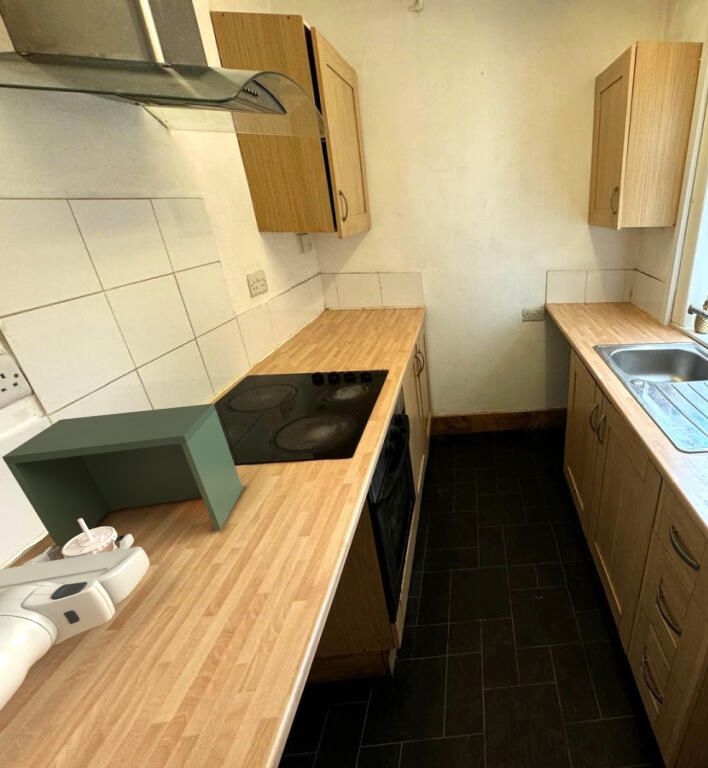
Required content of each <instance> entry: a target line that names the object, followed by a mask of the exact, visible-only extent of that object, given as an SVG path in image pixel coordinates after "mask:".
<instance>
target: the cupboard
mask: <svg viewBox="0 0 708 768" xmlns="http://www.w3.org/2000/svg"><path fill="white" fill-rule="evenodd" d="M1 458H2V459H3V461H4V463H5V464H6V466H7V468H8V469H9V471H10V473H11V474H12V476H13V478H14V479H15V481H16V482H17V484H18V486H19V487H20V489H21V491H22V493H23V494H24V496H25V497H26V498H27V501H28V502H29V504H30V505H31V506H32V508H33V511H34V512H35V513H36V515H37V517H38V519H39V521H40V522H41V523H42V525H43V526H44V528H45V529H46V531H47V533H48V535H49V536H50V538H51V539H52V542H53V543H54V544H55V546H58V545H62V546H63V547H64V545H65V544H66V543H67V542H69V541H70V540H71V539H72V538H74V537H76V536H77V535H79V534H81V533H83V532H84V531H83V529H82V528H81V526H80V524H79V522H78V519H80V518H82V519H83V521H84V522H85V524H86V526H87V528H88V530H91V529H94V528H95V527H96V526H97V524H98V523H100V521H101V520H102V519H103V518H105V516H106V515H107V514H108V513H109V512H111V511H117V510H123V509H131V508H137V507H145V506H151V505H158V504H164V503H165V504H166V503H172V502H179V501H185V500H193V499H198V498H199V499H200V498H202V501H203V503H204V506H205V508H206V511H207V514H208V516H209V518H210V521H211V524H212V526H213V528H214V531H219V530H221V529H222V528H223V526H224V525H225V522H226V521H227V519H228V517H229V515H230V514H231V511H232V509H233V508H234V505H235V504H236V502H237V500H238V498H239V497H240V495H241V493H242V491H243V489H244V488H243V485H242V482H241V479H240V477H239V474H238V471H237V468H236V465H235V462H234V460H233V456H232V453H231V450H230V448H229V445H228V441H227V439H226V436H225V433H224V430H223V427H222V424H221V421H220V418H219V416H218V413H217V409H216V407H215V404H214V403H204V404H197V405H196V404H195V405H185V406H176V407H167V408H157V409H150V410H149V409H148V410H138V411H129V412H118V413H110V414H100V415H91V416H81V417H72V418H62V419H59V420H57V421H55V422H54V423H52V424H51V425H50V426H47V427H46V428H45V429H43V430H42V431H40V432H39V433H37V434H36V435H33V436H31V438H29V439H28V440H26V441H24V442H23V443H22V444H20V445H19V446H17V447H15V448H14V449H12V450H11V451H9V452H8V453H6V454H5V455H3V456H2V457H1Z"/></svg>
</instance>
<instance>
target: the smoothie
mask: <svg viewBox="0 0 708 768" xmlns="http://www.w3.org/2000/svg"><path fill="white" fill-rule="evenodd" d="M78 522H79V524H80V526H81V528H82V529H83V531H84V532H83V533H81V534H79V535H77V536H76V537H74V538H72V539H71V540H70V541H69V542H67V543H66V544H65V545H64V547H63V548H62V554H63V556H62V557H63V559H66V558H72V557H78V556H84V555H90V554H96V553H102V552H108V551H113V550H114V549H115V548H117V546H116V545H115V544H114V541H115V540H116V539H117V538H118V532H117V531H116V529H115V528H114V527H112V526H108V525H107V526H106V525H105V526H99V527H94V528H93V529H91V530H88V528H87V526H86V524H85V522H84V521H83V519H82V518H80V519H78Z"/></svg>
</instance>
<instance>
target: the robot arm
mask: <svg viewBox="0 0 708 768" xmlns="http://www.w3.org/2000/svg"><path fill="white" fill-rule="evenodd" d="M134 542H135V538H134V536H133V535H132V534H131V533H127V534H122V535H121V534H120V535H118V536H117V538H116V540H115V541H114V544H115V545H116V546H117V548H115V549H114V550H113V551H108V552H102V553H96V554H90V555H84V556H78V557H72V558H66V559H65V558H62V557H63V554H62V548H63V546H62V545H58V546H56V545H51V546H49V547H48V548H46V549H45V550H44V552H42V553H40V554H38V555H36V556H35V557H32V558H31V559H29V560H27V561H25V562H23V564H21V565H19V566H18V565H17V566H12V567H6V568H1V569H0V711H1V710H2V709H3V708H4V707H5V706H6V705H7V703H8V702H9V701H10V700H11V699H12V697H13V696H14V695H15V693H16V692H17V691H18V690H19V688H20V687H21V685H22V684H23V683H24V681H25V679H26V676H27V674H28V671H29V670H30V669H31V667H32V666H33V665H34V664H36V663H37V662H38V661H39V660H40V659H41V658H43V656H45V655H46V653H47V652H49V650H50V649H51V647H54V646H56V645H58V644H61V643H62V642H64V641H66V640H68V639H70V638H72V637H75V636H76V635H79V634H81V633H84V632H86V631H89V630H92V629H94V628H96V627H99V626H101V625H104V624H106V623H108V622H109V621H110V620H111V619H112V618H113V616H114V615H115V613H116V609H115V606H116V605H118V604H119V603H121V602H122V601H123V600H125V598H127V597H128V596H129V595H130V594H131V593H132V591H133V590H134V589H135V588H136V587H137V585H138V584H139V583H140V582H141V580H142V579H143V577H144V576H145V575H146V573H147V571H148V569H149V568H150V564H151V563H150V559H149V556H148V554H147V552H146V551H145V550H144V548H143V547H141V546H133V547H131V546H132V545H133V544H134Z"/></svg>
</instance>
